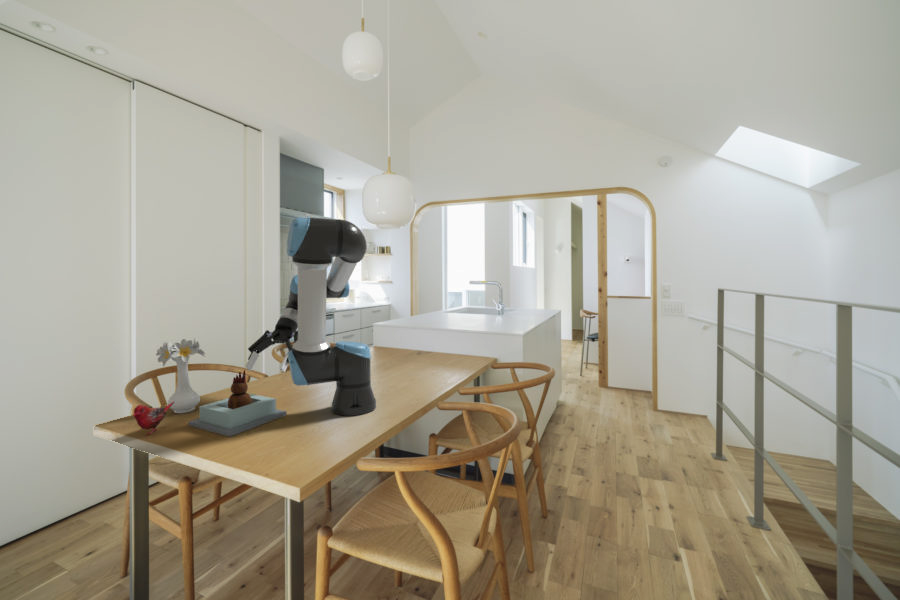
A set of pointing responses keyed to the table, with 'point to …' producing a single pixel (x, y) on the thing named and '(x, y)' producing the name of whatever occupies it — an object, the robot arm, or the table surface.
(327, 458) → the table surface
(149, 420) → the decorative bird figurine
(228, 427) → the collar stand
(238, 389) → the wooden figurine
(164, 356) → the flower vase
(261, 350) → the robot arm
